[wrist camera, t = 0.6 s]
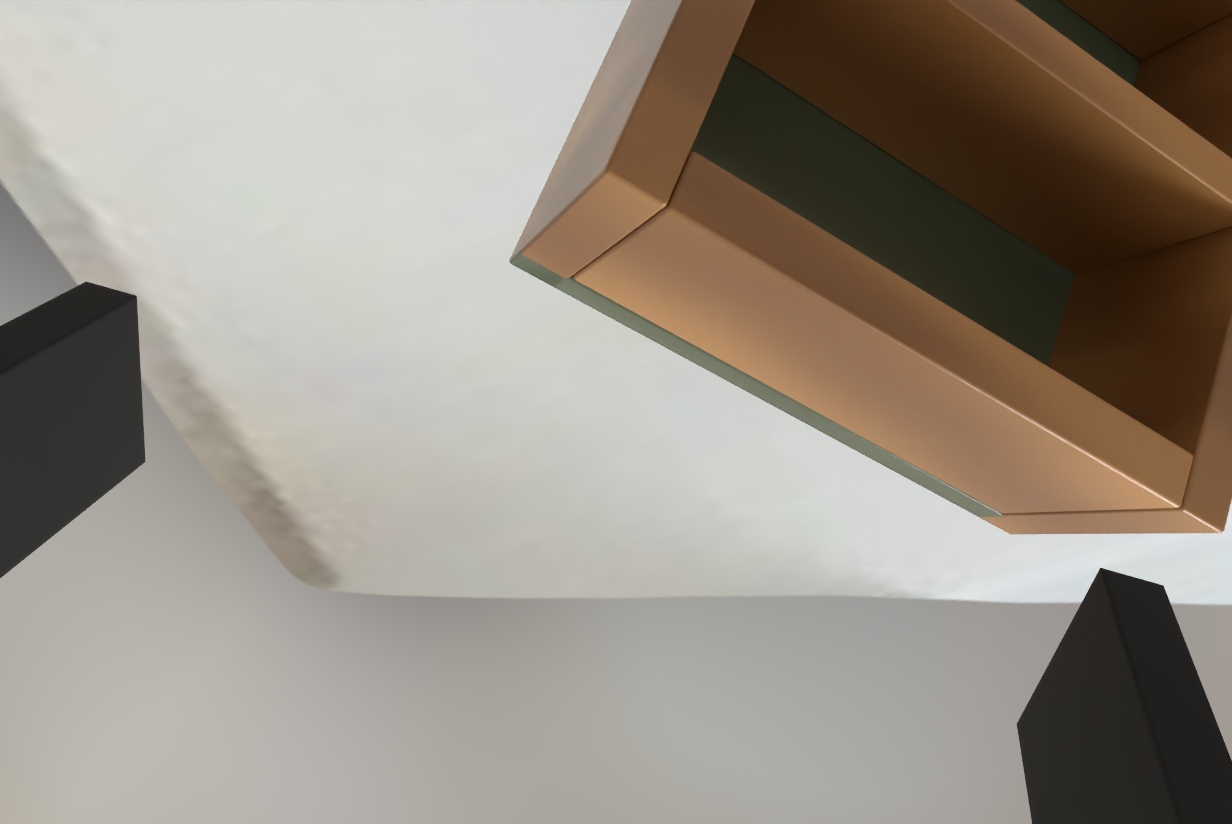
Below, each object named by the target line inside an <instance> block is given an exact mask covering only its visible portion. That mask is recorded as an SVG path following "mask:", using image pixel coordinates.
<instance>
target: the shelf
mask: <svg viewBox="0 0 1232 824" xmlns="http://www.w3.org/2000/svg"><path fill="white" fill-rule="evenodd" d="M510 263H511V264H512V265H514V266H516V267H518V268H520V269H522V270H523V271H525V272H527V273H529V274H531V275H533V276H535V277H536V278H538V279H540V280H542V281H544V282H546V283H547V284H549V285H551V286H553V287H555V288H557V289H559V290H560V291H562V292H564V293H566V294H568V295H570V296H572V297H573V298H575V299H577V300H579V301H581V302H583V303H584V304H586V305H588V306H590V307H592V308H594V309H596V310H597V311H599V312H601V313H603V314H605V315H607V316H608V317H610V318H612V319H614V320H616V321H618V322H620V323H621V324H623V325H625V326H627V327H629V328H631V329H632V330H634V331H636V332H638V333H640V334H642V335H644V336H645V337H647V338H649V339H651V340H653V341H655V342H657V343H658V344H660V345H662V346H664V347H666V348H668V349H669V350H671V351H673V352H675V353H677V354H679V355H681V356H682V357H684V358H686V359H688V360H690V361H692V362H693V363H695V364H697V365H699V366H701V367H703V368H705V369H706V370H708V371H710V372H712V373H714V374H716V375H717V376H719V377H721V378H723V379H725V380H727V381H729V382H730V383H732V384H734V385H736V386H738V387H740V388H742V389H743V390H745V391H747V392H749V393H751V394H753V395H754V396H756V397H758V398H760V399H762V400H764V401H766V402H767V403H769V404H771V405H773V406H775V407H777V408H778V409H780V410H782V411H784V412H786V413H788V414H790V415H791V416H793V417H795V418H797V419H799V420H801V421H802V422H804V423H806V424H808V425H810V426H812V427H814V428H815V429H817V430H819V431H821V432H823V433H825V434H827V435H828V436H830V437H832V438H834V439H836V440H838V441H839V442H841V443H843V444H845V445H847V446H849V447H851V448H852V449H854V450H856V451H858V452H860V453H862V454H863V455H865V456H867V457H869V458H871V459H873V460H875V461H876V462H878V463H880V464H882V465H884V466H886V467H887V468H889V469H891V470H893V471H895V472H897V473H899V474H900V475H902V476H904V477H906V478H908V479H910V480H912V481H913V482H915V483H917V484H919V485H921V486H923V487H924V488H926V489H928V490H930V491H932V492H934V493H936V494H937V495H939V496H941V497H943V498H945V499H947V500H948V501H950V502H952V503H954V504H956V505H958V506H960V507H961V508H963V509H965V510H967V511H969V512H971V513H972V514H974V515H976V516H978V517H980V518H982V519H984V520H985V521H987V522H989V523H991V524H993V525H995V526H997V527H998V528H1000V529H1002V530H1004V531H1006V532H1008V533H1009V534H1119V533H1222V532H1223V531H1224V528H1225V524H1226V520H1227V516H1228V512H1229V508H1230V504H1231V500H1232V0H632V1H631V3H630V5H629V7H628V9H627V12H626V14H625V16H624V18H623V20H622V22H621V24H620V26H619V29H618V31H617V33H616V35H615V37H614V39H613V41H612V43H611V46H610V48H609V50H608V52H607V54H606V56H605V58H604V61H603V63H602V65H601V67H600V69H599V71H598V73H597V75H596V78H595V80H594V82H593V84H592V86H591V88H590V90H589V92H588V95H587V97H586V99H585V101H584V103H583V105H582V107H581V109H580V112H579V114H578V116H577V118H576V120H575V122H574V124H573V126H572V129H571V131H570V133H569V135H568V137H567V139H566V141H565V143H564V146H563V148H562V150H561V152H560V154H559V156H558V158H557V160H556V163H555V165H554V167H553V169H552V171H551V173H550V175H549V177H548V180H547V182H546V184H545V186H544V188H543V190H542V192H541V195H540V197H539V199H538V201H537V203H536V205H535V207H534V209H533V212H532V214H531V216H530V218H529V220H528V222H527V224H526V226H525V229H524V231H523V233H522V235H521V237H520V239H519V241H518V243H517V246H516V248H515V250H514V252H513V254H512V256H511V258H510Z"/></svg>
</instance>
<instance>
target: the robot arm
mask: <svg viewBox="0 0 1232 824" xmlns="http://www.w3.org/2000/svg"><path fill="white" fill-rule="evenodd" d="M144 462H145V447H144V428H143V410H142V390H141V371H140V352H139V333H138V314H137V296H135V295H132V294H128V293H125V292H121V291H118V290H114V289H111V288H107V287H103V286H100V285H96V284H93V283H89V282H85V283H83V284H81V285H79V286H77V287H75V288H73V289H71V290H69V291H67V292H65V293H64V294H61V295H60V296H58V297H56V298H54V299H52V300H50V301H48V302H46V303H44V304H42V305H40V306H38V307H36V308H34V309H33V310H30V311H29V312H27V313H25V314H23V315H21V316H19V317H17V318H15V319H13V320H11V321H10V322H7V323H5V324H4V325H2V326H0V578H1V577H2V576H4V575H5V574H6V573H7V572H9V571H10V570H11V569H12V568H13V567H15V566H16V565H17V564H19V563H20V562H21V561H22V560H24V559H25V558H26V557H27V556H28V555H30V554H31V553H32V552H33V551H35V550H36V549H37V548H38V547H40V546H41V545H42V544H43V543H44V542H46V541H47V540H48V539H50V538H51V537H52V536H53V535H54V534H56V533H57V532H58V531H60V530H61V529H62V528H63V527H65V526H66V525H67V524H68V523H70V522H71V521H72V520H73V519H75V518H76V517H77V516H78V515H80V514H81V513H82V512H83V511H85V510H86V509H87V508H88V507H90V506H91V505H92V504H93V503H95V502H96V501H97V500H98V499H99V498H101V497H102V496H103V495H104V494H106V493H107V492H108V491H109V490H111V489H112V488H113V487H114V486H116V485H117V484H118V483H119V482H121V481H122V480H123V479H124V478H126V477H127V476H128V475H129V474H131V473H132V472H133V471H134V470H136V469H137V468H138V467H139V466H141V465H142V464H143V463H144ZM1017 728H1018V734H1019V741H1020V748H1021V754H1022V761H1023V767H1024V773H1025V780H1026V786H1027V792H1028V799H1029V806H1030V812H1031V818H1032V824H1232V761H1231V758H1230V756H1229V753H1228V750H1227V748H1226V746H1225V743H1224V740H1223V737H1222V735H1221V732H1220V730H1219V727H1218V725H1217V722H1216V720H1215V717H1214V714H1213V712H1212V709H1211V707H1210V704H1209V702H1208V699H1207V697H1206V694H1205V691H1204V689H1203V686H1202V684H1201V681H1200V679H1199V676H1198V673H1197V671H1196V669H1195V666H1194V663H1193V661H1192V658H1191V656H1190V653H1189V650H1188V648H1187V645H1186V643H1185V641H1184V637H1183V635H1182V633H1181V630H1180V627H1179V625H1178V622H1177V620H1176V617H1175V614H1174V612H1173V609H1172V607H1171V604H1170V601H1169V599H1168V596H1167V594H1166V591H1165V589H1164V586H1163V585H1159V584H1156V583H1152V582H1149V581H1145V580H1142V579H1138V578H1134V577H1131V576H1127V575H1124V574H1120V573H1117V572H1113V571H1110V570H1106V569H1103V568H1100V570H1099V572H1098V573H1097V575H1096V577H1095V579H1094V581H1093V583H1092V585H1091V587H1090V588H1089V590H1088V592H1087V594H1086V596H1085V598H1084V600H1083V601H1082V603H1081V605H1080V607H1079V609H1078V611H1077V613H1076V615H1075V616H1074V618H1073V620H1072V622H1071V624H1070V626H1069V628H1068V630H1067V631H1066V633H1065V635H1064V637H1063V639H1062V641H1061V643H1060V644H1059V646H1058V648H1057V650H1056V652H1055V654H1054V656H1053V658H1052V659H1051V661H1050V663H1049V665H1048V667H1047V669H1046V671H1045V673H1044V675H1043V676H1042V678H1041V680H1040V682H1039V684H1038V685H1037V687H1036V689H1035V691H1034V693H1033V695H1032V697H1031V699H1030V700H1029V702H1028V704H1027V706H1026V708H1025V710H1024V712H1023V713H1022V715H1021V717H1020V719H1019V721H1018V723H1017Z"/></svg>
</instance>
